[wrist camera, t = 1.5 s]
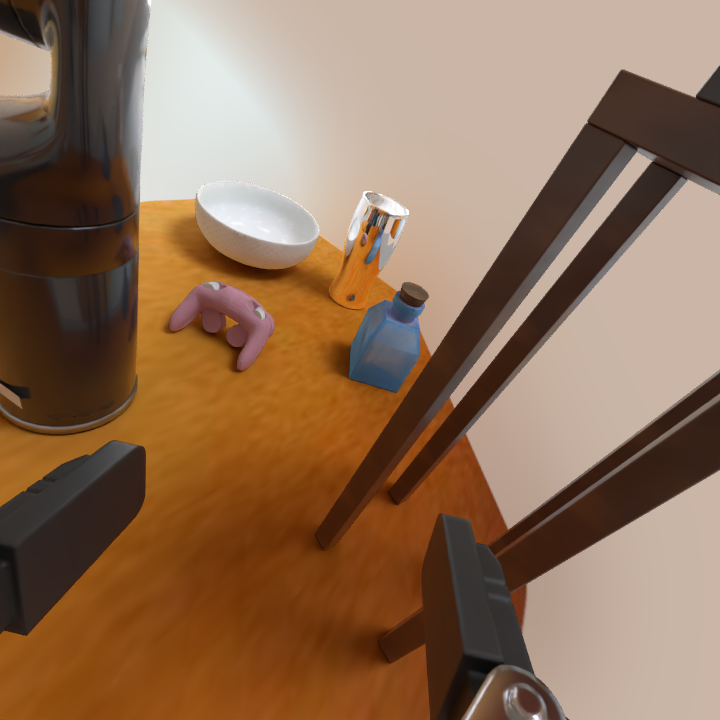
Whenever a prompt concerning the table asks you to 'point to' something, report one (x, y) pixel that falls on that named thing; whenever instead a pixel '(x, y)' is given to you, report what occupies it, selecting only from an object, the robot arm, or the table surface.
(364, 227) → the silver metal tumbler
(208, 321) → the video game controller
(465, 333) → the shelf stand
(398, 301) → the perfume bottle
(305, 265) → the table surface
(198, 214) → the cereal bowl
